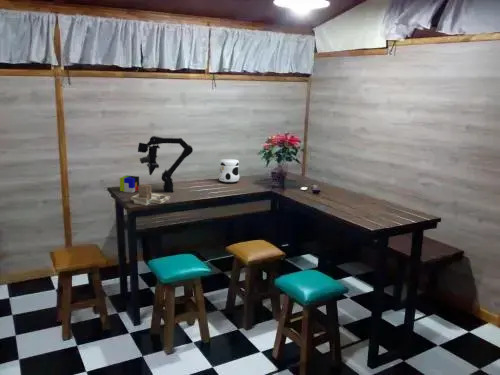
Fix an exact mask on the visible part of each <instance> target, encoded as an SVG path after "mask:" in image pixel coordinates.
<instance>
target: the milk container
mask: <svg viewBox="0 0 500 375" xmlns="http://www.w3.org/2000/svg"><path fill="white" fill-rule="evenodd" d="M239 165H240V161H239V160H238V159H235V158H224V159H223V158H221V159H220V160H219V172H218V181H219V182H221V183H226V184H227V183H228V184H234V183H237V182H239V181H240V177H241V176H240V172H239V169H240V166H239Z"/></svg>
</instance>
